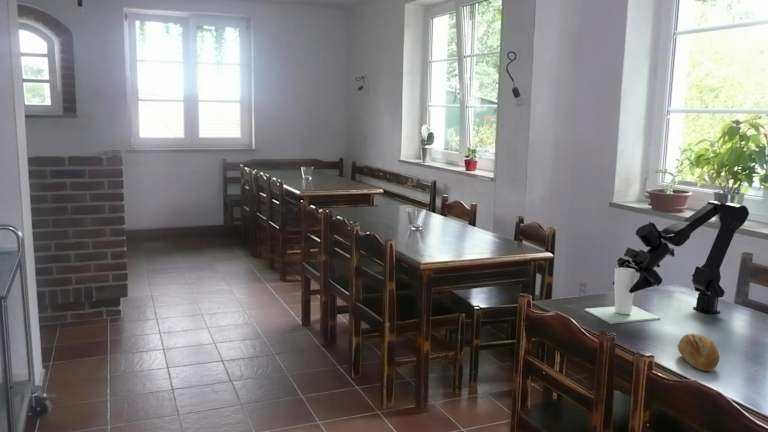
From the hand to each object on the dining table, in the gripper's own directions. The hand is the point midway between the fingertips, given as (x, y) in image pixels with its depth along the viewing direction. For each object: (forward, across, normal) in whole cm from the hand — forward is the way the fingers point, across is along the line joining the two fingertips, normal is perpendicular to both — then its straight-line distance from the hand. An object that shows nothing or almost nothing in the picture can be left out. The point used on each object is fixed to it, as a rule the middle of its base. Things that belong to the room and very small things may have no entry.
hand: (621, 288), depth 221 cm
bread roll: (+9, +42, +5) cm, 43 cm away
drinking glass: (+5, 0, +7) cm, 9 cm away
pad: (+6, 0, +8) cm, 9 cm away
